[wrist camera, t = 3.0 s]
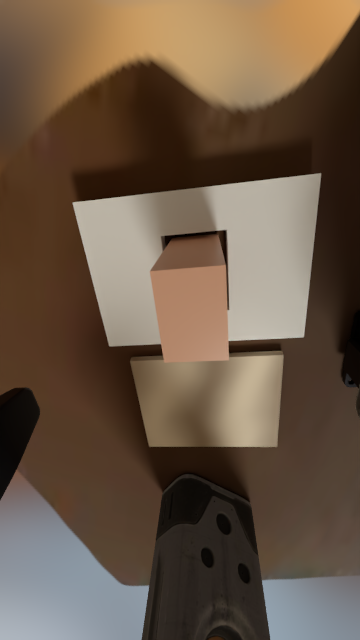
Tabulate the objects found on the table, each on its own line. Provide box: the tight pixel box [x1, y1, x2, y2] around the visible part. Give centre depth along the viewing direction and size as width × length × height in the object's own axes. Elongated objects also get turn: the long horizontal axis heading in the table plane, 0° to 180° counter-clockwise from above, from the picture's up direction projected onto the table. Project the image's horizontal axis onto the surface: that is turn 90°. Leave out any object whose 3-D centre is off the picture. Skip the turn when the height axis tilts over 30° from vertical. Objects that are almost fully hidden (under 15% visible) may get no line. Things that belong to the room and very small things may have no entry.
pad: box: [130, 351, 284, 447], centre depth 23 cm, size 12×10×1 cm
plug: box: [150, 234, 229, 363], centre depth 15 cm, size 3×4×8 cm
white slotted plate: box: [73, 173, 321, 346], centre depth 18 cm, size 14×10×2 cm
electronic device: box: [142, 474, 270, 640], centre depth 21 cm, size 9×6×20 cm, turn 59°
